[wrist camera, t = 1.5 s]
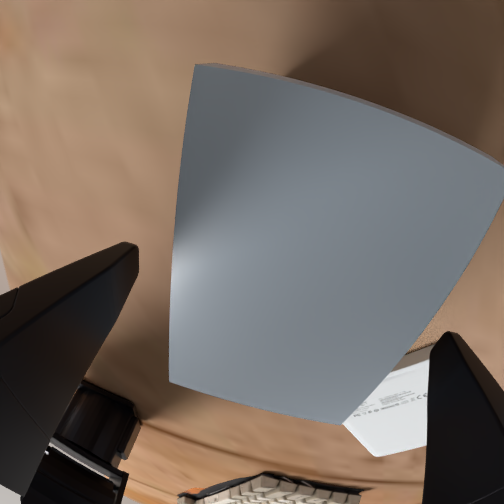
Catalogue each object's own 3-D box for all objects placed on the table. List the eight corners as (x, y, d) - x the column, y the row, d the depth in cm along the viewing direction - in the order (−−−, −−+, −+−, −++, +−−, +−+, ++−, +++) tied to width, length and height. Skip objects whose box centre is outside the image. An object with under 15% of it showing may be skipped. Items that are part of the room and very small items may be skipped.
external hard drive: (373, 442, 24) (313, 374, 19) (461, 417, 20) (440, 332, 15) (373, 458, 22) (311, 395, 18) (464, 433, 19) (446, 354, 14)
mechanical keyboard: (239, 457, 30) (232, 483, 27) (374, 485, 31) (373, 507, 29) (177, 492, 52) (172, 505, 49) (260, 514, 53) (257, 527, 50)
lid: (179, 357, 12) (169, 381, 11) (214, 63, 6) (195, 64, 5) (341, 399, 12) (340, 425, 11) (490, 155, 6) (514, 174, 5)
